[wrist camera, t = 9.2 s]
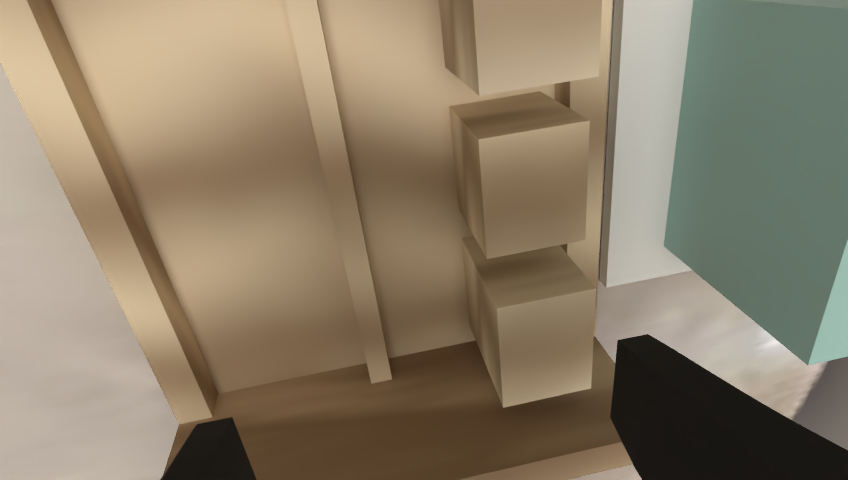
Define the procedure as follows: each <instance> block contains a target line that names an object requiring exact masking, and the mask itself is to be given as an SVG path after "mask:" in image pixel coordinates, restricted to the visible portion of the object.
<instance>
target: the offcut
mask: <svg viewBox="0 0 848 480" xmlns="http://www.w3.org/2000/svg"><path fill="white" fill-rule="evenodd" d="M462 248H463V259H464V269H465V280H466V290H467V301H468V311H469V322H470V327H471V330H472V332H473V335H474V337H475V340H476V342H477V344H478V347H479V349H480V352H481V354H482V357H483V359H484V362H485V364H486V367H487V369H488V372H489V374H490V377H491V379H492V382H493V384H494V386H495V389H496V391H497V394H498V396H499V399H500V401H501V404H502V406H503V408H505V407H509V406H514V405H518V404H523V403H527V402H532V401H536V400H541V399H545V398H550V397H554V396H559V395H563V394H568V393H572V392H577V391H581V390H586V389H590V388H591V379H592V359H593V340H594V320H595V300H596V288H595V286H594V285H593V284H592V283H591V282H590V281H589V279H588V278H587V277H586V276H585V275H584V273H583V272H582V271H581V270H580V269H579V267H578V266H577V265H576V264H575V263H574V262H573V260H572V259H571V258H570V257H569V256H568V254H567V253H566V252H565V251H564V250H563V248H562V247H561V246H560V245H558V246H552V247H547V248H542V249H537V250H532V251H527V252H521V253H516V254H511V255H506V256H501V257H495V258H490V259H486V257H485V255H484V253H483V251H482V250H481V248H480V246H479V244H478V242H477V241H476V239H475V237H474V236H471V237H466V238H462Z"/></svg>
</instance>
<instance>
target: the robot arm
mask: <svg viewBox="0 0 848 480" xmlns="http://www.w3.org/2000/svg"><path fill="white" fill-rule="evenodd" d="M610 418H611V420H612V422H613V424H614V426H615V429H616V431H617V433H618V435H619V437H620V439H621V441H622V443H623V445H624V447H625V449H626V451H627V453H628V455H629V457H630V459H631V461H632V463H633V465H634V467H635V469H636V470H637V472H638V474H639V475H640V477H641V478H642V480H848V450H846V449H844V448H842V447H840V446H838V445H836V444H834V443H832V442H831V441H829V440H827V439H825V438H823V437H821V436H819V435H818V434H816V433H814V432H812V431H810V430H808V429H806V428H805V427H803V426H801V425H799V424H797V423H796V422H794V421H792V420H790V419H789V418H787V417H785V416H783V415H781V414H780V413H778V412H776V411H774V410H773V409H771V408H769V407H768V406H766V405H764V404H762V403H761V402H759V401H757V400H756V399H754V398H752V397H750V396H749V395H747V394H745V393H744V392H742V391H740V390H739V389H737V388H735V387H734V386H732V385H730V384H729V383H727V382H726V381H724V380H722V379H721V378H719V377H717V376H716V375H714V374H712V373H711V372H709V371H708V370H706V369H704V368H703V367H701V366H699V365H698V364H696V363H695V362H693V361H691V360H690V359H688V358H687V357H685V356H683V355H682V354H680V353H678V352H677V351H675V350H674V349H672V348H670V347H669V346H667V345H665V344H664V343H662V342H660V341H659V340H657V339H655V338H653V337H652V336H650V335H648V334H647V335H642V336H637V337H632V338H627V339H622V340H618V343H617V353H616V363H615V373H614V383H613V394H612V404H611V414H610ZM161 480H256V477H255V474H254V472H253V469H252V467H251V464H250V461H249V459H248V456H247V454H246V451H245V448H244V446H243V443H242V441H241V438H240V436H239V433H238V430H237V428H236V425H235V423H234V420H233V417H230V418H225V419H220V420H215V421H210V422H205V423H200V424H197V425H196V426H195V427H194V429H193V430H192V431H191V433H190V435H189V436H188V438H187V439H186V441H185V442H184V444H183V445H182V447H181V449H180V450H179V452H178V453H177V455H176V456H175V458H174V459H173V461H172V463H171V464H170V466H169V467H168V469H167V470H166V472H165V474H164V475H163V477H162V478H161Z"/></svg>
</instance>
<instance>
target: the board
mask: <svg viewBox="0 0 848 480" xmlns="http://www.w3.org/2000/svg"><path fill="white" fill-rule="evenodd" d="M664 247H665V248H667V249H668V250H669V251H670V252H671V253H673V254H674V255H675V256H676V257H677V258H679V259H680V260H681V261H682V262H683V263H685V264H686V265H687V266H688V267H689V268H691V269H692V270H693V271H694V272H696V273H697V274H698V275H699V276H700V277H702V278H703V279H704V280H705V281H706V282H708V283H709V284H710V285H711V286H712V287H714V288H715V289H716V290H717V291H719V292H720V293H721V294H722V295H723V296H725V297H726V298H727V299H728V300H729V301H731V302H732V303H733V304H734V305H735V306H737V307H738V308H739V309H740V310H741V311H743V312H744V313H745V314H746V315H748V316H749V317H750V318H751V319H752V320H754V321H755V322H756V323H757V324H758V325H760V326H761V327H762V328H763V329H764V330H766V331H767V332H768V333H769V334H770V335H772V336H773V337H774V338H775V339H777V340H778V341H779V342H780V343H781V344H783V345H784V346H785V347H786V348H787V349H789V350H790V351H791V352H792V353H793V354H795V355H796V356H797V357H798V358H799V359H801V360H802V361H803V362H804V363H806V364H807V365H812V364H816V363H821V362H825V361H830V360H834V359H838V358H843V357H847V356H848V0H693V7H692V15H691V24H690V32H689V40H688V48H687V57H686V65H685V73H684V82H683V90H682V98H681V106H680V115H679V123H678V131H677V139H676V148H675V156H674V164H673V172H672V181H671V189H670V197H669V206H668V214H667V222H666V230H665V239H664Z"/></svg>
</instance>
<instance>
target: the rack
mask: <svg viewBox="0 0 848 480" xmlns="http://www.w3.org/2000/svg"><path fill="white" fill-rule="evenodd" d="M611 17H612V0H602V15H601V38H600V61H599V77H592V78H586V79H580V80H574V81H568V82H562V83H556V84H550V85H543V86H537V87H531V88H525V89H519V90H513V91H507V92H501V93H495V94H488V95H482V96H479V95H478V94H476V93H475V92H474V91H473V90H472V89H470V88H469V87H468V86H467V85H466V84H465V83H463V82H462V81H461V80H460V79H459V78H457V77H456V76H455V75H454V74H453V73H451V72H450V71H449V70H448V69H447V68H446V67H445V60H444V50H443V39H442V29H441V18H440V8H439V0H0V63H1V65H2V67H3V69H4V71H5V73H6V75H7V77H8V79H9V81H10V83H11V85H12V87H13V89H14V91H15V93H16V95H17V97H18V99H19V101H20V103H21V105H22V107H23V109H24V111H25V113H26V116H27V118H28V120H29V122H30V124H31V126H32V128H33V130H34V132H35V134H36V136H37V138H38V140H39V142H40V144H41V146H42V148H43V150H44V152H45V154H46V156H47V158H48V160H49V162H50V164H51V166H52V168H53V170H54V172H55V174H56V176H57V178H58V180H59V182H60V184H61V186H62V188H63V190H64V192H65V194H66V196H67V198H68V200H69V202H70V204H71V206H72V209H73V211H74V213H75V215H76V217H77V219H78V221H79V223H80V225H81V227H82V229H83V231H84V233H85V235H86V237H87V239H88V241H89V243H90V245H91V247H92V249H93V251H94V253H95V255H96V257H97V259H98V261H99V263H100V265H101V267H102V269H103V271H104V273H105V275H106V277H107V279H108V281H109V283H110V285H111V287H112V289H113V291H114V293H115V295H116V297H117V299H118V302H119V304H120V306H121V308H122V310H123V312H124V314H125V316H126V318H127V320H128V322H129V324H130V326H131V328H132V330H133V332H134V334H135V336H136V338H137V340H138V342H139V344H140V346H141V348H142V350H143V352H144V354H145V356H146V358H147V360H148V362H149V364H150V366H151V368H152V370H153V372H154V374H155V376H156V378H157V380H158V382H159V384H160V386H161V388H162V390H163V392H164V395H165V397H166V399H167V401H168V403H169V405H170V407H171V409H172V411H173V413H174V415H175V417H176V419H177V421H178V423H179V427H178V430H177V433H176V436H175V440H174V443H173V446H172V449H171V452H170V455H169V459H168V462H167V465H166V468H165V471H164V474H165V472H166V470H167V469H168V467H169V466H170V464H171V463H172V461H173V459H174V458H175V456H176V455H177V453H178V452H179V450H180V449H181V447H182V445H183V444H184V442H185V441H186V439H187V438H188V436H189V435H190V433H191V431H192V430H193V429H194V427H195V426H196V425H197V424H200V423H205V422H210V421H215V420H220V419H225V418H230V417H233V420H234V423H235V425H236V428H237V430H238V433H239V436H240V438H241V441H242V443H243V446H244V448H245V451H246V454H247V456H248V459H249V461H250V464H251V467H252V469H253V472H254V474H255V477H256V480H568V479H572V478H576V477H581V476H585V475H589V474H593V473H597V472H602V471H606V470H610V469H614V468H618V467H623V466H627V465H631V464H633V463H632V461H631V459H630V457H629V455H628V453H627V451H626V449H625V447H624V445H623V443H622V441H621V439H620V437H619V435H618V433H617V431H616V429H615V426H614V424H613V422H612V420H611V418H610V414H611V404H612V394H613V383H614V373H615V363H614V362H613V361H612V359H611V358H610V356H609V355H608V354H607V352H606V351H605V350H604V348H603V347H602V346H601V344H600V343H599V341H598V340H597V339H596V337H595V324H596V305H597V286H598V267H599V247H600V228H601V209H602V190H603V170H604V151H605V132H606V113H607V94H608V74H609V55H610V36H611ZM538 91H540V92H542V93H544V94H545V95H547V96H549V97H551V98H552V99H554V100H556V101H557V102H559V103H561V104H562V105H564V106H566V107H568V108H569V109H571V110H573V111H574V112H576V113H578V114H580V115H581V116H583V117H585V118H586V119H588V120H590V128H589V155H588V182H587V210H586V237H585V240H583V241H578V242H573V243H568V244H563V245H560V246H561V247H562V248H563V250H564V251H565V252H566V253H567V254H568V256H569V257H570V258H571V259H572V260H573V262H574V263H575V264H576V265H577V266H578V267H579V269H580V270H581V271H582V272H583V273H584V275H585V276H586V277H587V278H588V279H589V281H590V282H591V283H592V284H593V285H594V286H595V288H596V300H595V320H594V340H593V359H592V379H591V388H590V389H586V390H581V391H577V392H572V393H568V394H563V395H559V396H554V397H550V398H545V399H541V400H536V401H532V402H527V403H523V404H518V405H514V406H509V407H505V408H503V406H502V404H501V401H500V399H499V396H498V394H497V391H496V389H495V386H494V384H493V382H492V379H491V377H490V374H489V372H488V369H487V367H486V364H485V362H484V359H483V357H482V354H481V352H480V349H479V347H478V344H477V342H476V340H475V337H474V335H473V332H472V330H471V327H470V322H469V311H468V301H467V290H466V280H465V269H464V259H463V248H462V238H466V237H471V236H474V235H473V233H472V232H471V230H470V228H469V226H468V224H467V223H466V221H465V219H464V217H463V215H462V213H461V212H460V210H459V207H458V196H457V186H456V175H455V165H454V154H453V144H452V133H451V123H450V112H449V106H453V105H459V104H465V103H472V102H478V101H484V100H490V99H496V98H502V97H508V96H514V95H520V94H526V93H532V92H538Z"/></svg>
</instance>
